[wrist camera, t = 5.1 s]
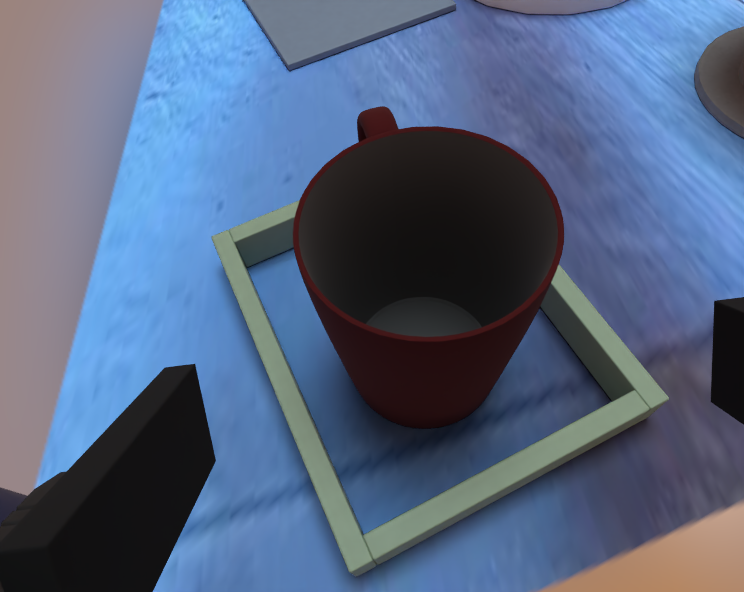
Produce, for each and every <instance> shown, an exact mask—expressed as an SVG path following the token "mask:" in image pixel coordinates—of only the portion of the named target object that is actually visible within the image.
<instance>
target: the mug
mask: <svg viewBox="0 0 744 592" xmlns="http://www.w3.org/2000/svg"><path fill="white" fill-rule="evenodd" d="M357 129H358V140H359V142H358V143H356V144H354V145H352V146H351V147H349V148H347V149H345V150H343V151H342V152H341V153H339V154H338V155H337V156H335V157H334V158H333V159H331V160H330V161H329V162H328V163H326V164H325V165H324V166H323V167H322V168H321V170H320V171H319V172H318V173H317V174H316V175H315V176H314V178H313V179H312V180H311V181H310V183H309V184H308V186H307V188H306V189H305V191H304V193H303V195H302V197H301V199H300V201H299V204H298V207H297V210H296V214H295V218H294V223H293V246H294V251H295V256H296V260H297V263H298V266H299V269H300V272H301V275H302V278H303V281H304V283H305V286H306V288H307V291H308V293H309V295H310V298H311V300H312V302H313V305H314V307H315V309H316V311H317V313H318V315H319V317H320V319H321V322H322V324H323V326H324V328H325V330H326V332H327V334H328V336H329V338H330V340H331V342H332V344H333V346H334V348H335V350H336V351H337V353H338V355H339V357H340V359H341V361H342V363H343V365H344V367H345V368H346V370H347V372H348V374H349V376H350V378H351V380H352V381H353V383H354V385H355V387H356V389H357V390H358V392H359V393H360V395H361V397H362V398H363V399H364V401H365V402H366V403H367V404H368V405H369V406H370V407H371V408H372V409H373V410H374V411H375V412H377V413H378V414H379V415H381V416H382V417H384V418H386V419H388V420H389V421H391V422H394V423H396V424H399V425H402V426H406V427H411V428H419V429H431V428H439V427H443V426H447V425H450V424H453V423H456V422H458V421H460V420H462V419H463V418H465V417H467V416H468V415H470V414H471V413H472V412H474V411H475V410H476V409H477V408H478V407H479V406H480V405H481V404H482V402H483V401H484V400H485V399H486V397H487V396H488V394H489V393H490V391H491V390H492V388H493V386H494V385H495V383H496V382H497V380H498V378H499V377H500V375H501V374H502V372H503V370H504V369H505V367H506V365H507V364H508V362H509V360H510V359H511V357H512V355H513V354H514V352H515V350H516V349H517V347H518V345H519V344H520V342H521V340H522V338H523V337H524V335H525V333H526V332H527V330H528V328H529V326H530V324H531V323H532V321H533V319H534V317H535V315H536V313H537V312H538V309H539V307H540V305H541V303H542V301H543V299H544V297H545V295H546V293H547V291H548V289H549V287H550V285H551V282H552V280H553V278H554V275H555V273H556V270H557V267H558V265H559V261H560V258H561V255H562V250H563V245H564V224H563V217H562V213H561V209H560V206H559V203H558V200H557V198H556V196H555V194H554V192H553V190H552V189H551V187H550V185H549V184H548V182H547V181H546V179H545V178H544V177H543V175H542V174H541V173H540V172H539V171H538V170H537V169H536V168H535V167H534V166H533V165H532V164H531V163H530V162H529V161H528V160H527V159H525V158H524V157H523V156H521V155H520V154H518V153H517V152H516V151H514V150H513V149H511V148H510V147H508V146H506V145H504V144H502V143H500V142H498V141H495V140H493V139H491V138H489V137H487V136H483V135H480V134H476V133H473V132H469V131H466V130H462V129H454V128H446V127H438V126H437V127H410V128H404V129H398V126H397V124H396V121H395V118H394V116H393V114H392V113H391V111H390V110H389V109H388V108H387V107H376V108H372V109H368V110H365V111H363V112H361V113H360V114H359V116H358V119H357Z"/></svg>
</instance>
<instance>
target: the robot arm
mask: <svg viewBox="0 0 744 592" xmlns="http://www.w3.org/2000/svg"><path fill="white" fill-rule="evenodd" d="M711 402H712V403H713V404H715V405H716V406H718V407H719V408H721V409H722V410H723V411H725V412H726V413H728V414H729V415H731V416H732V417H734V418H735V419H736V420H738V421H739V422H741V423H742V424H744V297H742V298H734V299H726V300H717V301H714V326H713V354H712V382H711ZM215 461H216V459H215V455H214V450H213V445H212V441H211V436H210V431H209V427H208V422H207V418H206V413H205V408H204V404H203V399H202V394H201V390H200V385H199V380H198V376H197V371H196V367H195V364H190V365H182V366H174V367H166V368H164V369H163V370H162V371H161V372H160V373H159V374H158V376H157V377H156V378H155V379H154V380H153V381H152V382H151V383H150V384H149V385H148V386H147V387H146V388H145V389H144V390H143V391H142V392H141V394H140V395H139V396H138V397H137V398H136V399H135V400H134V401H133V402H132V403H131V404H130V405H129V406H128V407H127V408H126V409H125V410H124V412H123V413H122V414H121V415H120V416H119V417H118V418H117V419H116V420H115V421H114V422H113V423H112V424H111V425H110V426H109V427H108V428H107V430H106V431H105V432H104V433H103V434H102V435H101V436H100V437H99V438H98V439H97V440H96V441H95V442H94V443H93V444H92V445H91V446H90V448H89V449H88V450H87V451H86V452H85V453H84V454H83V455H82V456H81V457H80V458H79V459H78V460H77V461H76V462H75V463H74V464H73V466H72V467H71V468H70V469H69V470H68V471H67V472H60V473H59V474H57V475H56V476H54V477H53V478H51V479H50V480H48V481H47V482H45V483H43V484H42V485H40V486H39V487H37V488H36V489H34V490H33V491H32V492H31V493H30V494H29V495H28V496H27V497H26V498H25V499H24V501H23V502H22V503H21V504H20V505H19V506H18V507H17V510H16V511H13V512H12V513H11V514H10V515H9V516H8V517H7V518H6V519H5V520H4V521H3V522H2V523H1V527H0V592H153V590H154V588H155V586H156V583H157V581H158V579H159V577H160V575H161V573H162V571H163V569H164V567H165V565H166V563H167V561H168V559H169V557H170V555H171V552H172V550H173V548H174V546H175V544H176V542H177V540H178V538H179V536H180V534H181V532H182V530H183V528H184V526H185V524H186V521H187V519H188V517H189V515H190V513H191V511H192V509H193V507H194V505H195V503H196V501H197V499H198V497H199V495H200V493H201V490H202V488H203V486H204V484H205V482H206V480H207V478H208V476H209V474H210V472H211V470H212V468H213V466H214V464H215Z"/></svg>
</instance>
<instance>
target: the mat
mask: <svg viewBox="0 0 744 592" xmlns="http://www.w3.org/2000/svg"><path fill="white" fill-rule="evenodd" d="M244 2H245V3H246V5H247V6H248V8H249V9H250V11H251V12H252V14H253V15H254V17H255V19H256V20H257V22H258V23H259V25H260V26H261V28H262V29H263V31H264V32H265V34H266V36H267V37H268V39H269V40H270V42H271V43H272V45H273V46H274V48H275V49H276V51H277V53H278V54H279V56H280V57H281V59H282V60H283V62H284V63H285V65H286V66H287V68H288V70H292V69H295V68H298V67H301V66H303V65H306V64H309V63H312V62H314V61H317V60H320V59H322V58H325V57H328V56H331V55H333V54H336V53H339V52H341V51H344V50H347V49H350V48H352V47H355V46H358V45H361V44H363V43H366V42H369V41H371V40H374V39H377V38H380V37H382V36H385V35H388V34H391V33H393V32H396V31H399V30H401V29H404V28H407V27H410V26H412V25H415V24H418V23H421V22H423V21H426V20H429V19H431V18H434V17H437V16H440V15H442V14H445V13H448V12H451V11H453V10H456V3H455V2H454V1H453V0H244Z"/></svg>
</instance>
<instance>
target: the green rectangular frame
mask: <svg viewBox="0 0 744 592" xmlns="http://www.w3.org/2000/svg"><path fill="white" fill-rule="evenodd" d="M299 201H300V200H299ZM299 201H297V202H294V203H292V204H289V205H287V206H285V207H282V208H280V209H277V210H275V211H272V212H270V213H268V214H265V215H263V216H260V217H258V218H255V219H253V220H251V221H248V222H246V223H243V224H241V225H238V226H236V227H234V228H231V229H229V231H228V230H226V231H224V232H221V233H219V234H217V235H214V236H212V240H213V243H214V245H215V248H216V250H217V253H218V255H219V257H220V260H221V262H222V265H223V267H224V270H225V272H226V274H227V277H228V279H229V282H230V284H231V287H232V289H233V291H234V294H235V296H236V299H237V301H238V304H239V306H240V308H241V311H242V313H243V316H244V318H245V321H246V323H247V325H248V328H249V330H250V333H251V335H252V338H253V340H254V342H255V345H256V347H257V350H258V352H259V355H260V357H261V359H262V362H263V364H264V367H265V369H266V372H267V374H268V376H269V379H270V381H271V384H272V386H273V389H274V391H275V393H276V396H277V398H278V401H279V403H280V406H281V408H282V410H283V413H284V415H285V418H286V420H287V423H288V425H289V427H290V430H291V432H292V435H293V437H294V440H295V442H296V444H297V447H298V449H299V452H300V454H301V457H302V459H303V461H304V464H305V466H306V469H307V471H308V474H309V476H310V478H311V481H312V483H313V486H314V488H315V491H316V493H317V495H318V498H319V500H320V503H321V505H322V508H323V510H324V512H325V515H326V517H327V520H328V522H329V525H330V527H331V529H332V532H333V534H334V537H335V539H336V542H337V544H338V546H339V549H340V551H341V554H342V556H343V559H344V561H345V563H346V566H347V568H348V571H349V572H350V573H351V574H353V575H354V576H356V577H357V576H359V575H361V574H363V573H365V572H367V571H368V570H370V569H372V568H374V567H376V565H379V564H381V563H383V562H385V561H387V560H388V559H390V558H392V557H394V556H396V555H398V554H399V553H401V552H403V551H405V550H407V549H409V548H410V547H412V546H414V545H416V544H418V543H419V542H421V541H423V540H425V539H427V538H429V537H430V536H432V535H434V534H436V533H438V532H440V531H441V530H443V529H445V528H447V527H449V526H451V525H452V524H454V523H456V522H458V521H460V520H461V519H463V518H465V517H467V516H469V515H471V514H472V513H474V512H476V511H478V510H480V509H482V508H483V507H485V506H487V505H489V504H491V503H492V502H494V501H496V500H498V499H500V498H502V497H503V496H505V495H507V494H509V493H511V492H513V491H514V490H516V489H518V488H520V487H522V486H523V485H525V484H527V483H529V482H531V481H533V480H534V479H536V478H538V477H540V476H542V475H544V474H545V473H547V472H549V471H551V470H553V469H555V468H556V467H558V466H560V465H562V464H564V463H565V462H567V461H569V460H571V459H573V458H575V457H576V456H578V455H580V454H582V453H584V452H586V451H587V450H589V449H591V448H593V447H595V446H596V445H598V444H600V443H602V442H604V441H606V440H607V439H609V438H611V437H613V436H615V435H617V434H618V433H620V432H622V431H624V430H626V429H628V428H629V427H631V426H633V425H635V424H637V423H638V422H640V421H642V420H644V419H646V418H648V417H649V416H650V415H651V414H652V413H654V412H655V411H656V410H657V409H658V408H659V407H661V406H662V405H663V404H664V403H665V402H666V401H668V399H669V398H668V396H667V395H666V394H665V393H664V391H663V390H662V389H661V388H660V387H659V385H658V384H657V383H656V382H655V381H654V379H653V378H652V377H651V376H650V374H649V373H648V372H647V371H646V370H645V368H644V367H643V366H642V365H641V364H640V362H639V361H638V360H637V359H636V357H635V356H634V355H633V354H632V353H631V351H630V350H629V349H628V348H627V347H626V345H625V344H624V343H623V342H622V340H621V339H620V338H619V337H618V336H617V334H616V333H615V332H614V331H613V330H612V328H611V327H610V326H609V325H608V323H607V322H606V321H605V320H604V319H603V317H602V316H601V315H600V314H599V313H598V311H597V310H596V309H595V308H594V306H593V305H592V304H591V303H590V302H589V300H588V299H587V298H586V297H585V296H584V294H583V293H582V292H581V291H580V289H579V288H578V287H577V286H576V285H575V283H574V282H573V281H572V280H571V279H570V277H569V276H568V275H567V274H566V272H565V271H564V270H563V269H562V268H561V266H560V265H558V267H557V270H556V273H555V275H554V278H553V280H552V282H551V285H550V287H549V289H548V291H547V293H546V295H545V297H544V299H543V301H542V303H541V305H540V307H541V308H542V310H543V311H544V312H545V313H546V315H547V316H548V317H549V319H550V320H551V321H552V323H553V324H554V325H555V327H556V328H557V329H558V331H559V332H560V333H561V334H562V336H563V337H564V338H565V340H566V341H567V342H568V344H569V345H570V346H571V348H572V349H573V350H574V352H575V353H576V354H577V356H578V357H579V358H580V359H581V361H582V362H583V363H584V365H585V366H586V367H587V369H588V370H589V371H590V373H591V374H592V375H593V377H594V378H595V379H596V380H597V382H598V383H599V384H600V386H601V387H602V388H603V390H604V391H605V392H606V394H607V395H608V396H609V398H610V399H611V400H612V402H611V403H609V404H607V405H605V406H603V407H601V408H599V409H598V410H596V411H594V412H592V413H590V414H588V415H586V416H584V417H583V418H581V419H579V420H577V421H575V422H573V423H571V424H569V425H568V426H566V427H564V428H562V429H560V430H558V431H556V432H555V433H553V434H551V435H549V436H547V437H545V438H543V439H541V440H540V441H538V442H536V443H534V444H532V445H530V446H528V447H526V448H525V449H523V450H521V451H519V452H517V453H515V454H513V455H512V456H510V457H508V458H506V459H504V460H502V461H500V462H498V463H497V464H495V465H493V466H491V467H489V468H487V469H485V470H483V471H482V472H480V473H478V474H476V475H474V476H472V477H470V478H469V479H467V480H465V481H463V482H461V483H459V484H457V485H455V486H454V487H452V488H450V489H448V490H446V491H444V492H442V493H440V494H439V495H437V496H435V497H433V498H431V499H429V500H427V501H426V502H424V503H422V504H420V505H418V506H416V507H414V508H412V509H411V510H409V511H407V512H405V513H403V514H401V515H399V516H397V517H396V518H394V519H392V520H390V521H388V522H386V523H384V524H383V525H381V526H379V527H377V528H375V529H373V530H371V531H369V532H368V533H366V534H363V532H362V530H361V527H360V525H359V523H358V521H357V518H356V516H355V514H354V511H353V509H352V507H351V505H350V502H349V500H348V498H347V495H346V493H345V491H344V489H343V486H342V484H341V482H340V480H339V477H338V475H337V473H336V470H335V468H334V466H333V464H332V461H331V459H330V457H329V455H328V452H327V450H326V448H325V445H324V443H323V441H322V439H321V436H320V434H319V432H318V429H317V427H316V425H315V423H314V420H313V418H312V416H311V414H310V411H309V409H308V407H307V404H306V402H305V400H304V398H303V395H302V393H301V391H300V389H299V386H298V384H297V382H296V379H295V377H294V375H293V373H292V370H291V368H290V366H289V364H288V361H287V359H286V357H285V354H284V352H283V350H282V348H281V345H280V343H279V341H278V338H277V336H276V334H275V332H274V329H273V327H272V325H271V323H270V320H269V318H268V316H267V313H266V311H265V309H264V307H263V304H262V302H261V300H260V298H259V295H258V293H257V291H256V288H255V286H254V284H253V282H252V279H251V277H250V275H249V272H248V270H247V268H246V267H249V266H251V265H254V264H256V263H258V262H261V261H263V260H265V259H268V258H270V257H272V256H275V255H277V254H279V253H282V252H284V251H286V250H289V249H291V248H293V247H294V246H293V223H294V218H295V214H296V210H297V207H298V204H299Z"/></svg>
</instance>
